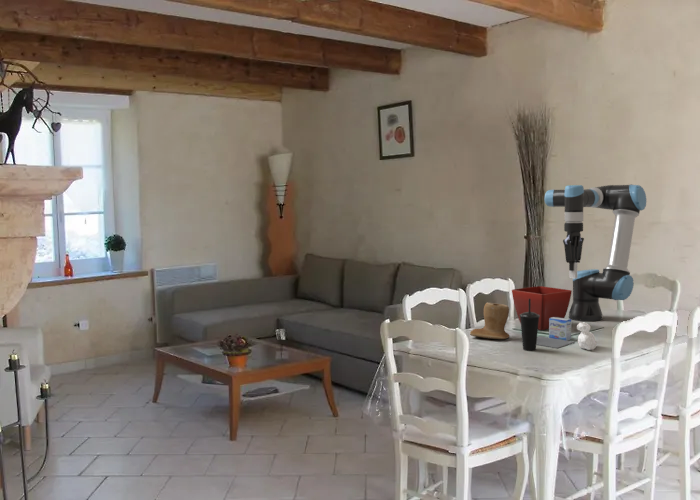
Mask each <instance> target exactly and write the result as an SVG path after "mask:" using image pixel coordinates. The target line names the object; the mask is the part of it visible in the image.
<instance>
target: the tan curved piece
mask: <svg viewBox="0 0 700 500" xmlns="http://www.w3.org/2000/svg"><path fill="white" fill-rule="evenodd" d="M509 314H510V308H509V305H506V304H502V303H494V302H486V303H485V304H484V306H483V318H484V319H483V320H484V326H483V327H481V328H473V329H472V330H471V331H470V332H469V334H470V336H472V337H476V338H480V339H488V340H489V339H490V340H505V339H508V338H510V334H509V333H508V332H506V331H505V328H506V324H507V321H508V318H509Z"/></svg>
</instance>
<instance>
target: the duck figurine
mask: <svg viewBox="0 0 700 500" xmlns="http://www.w3.org/2000/svg"><path fill="white" fill-rule="evenodd" d="M576 330H577V331H580V334H579V335H578V337H577V344H578V346H579V347H580V348H581V349H584V350H587V351H594V350H595V349H596V347H597V346H598V345H597V341H596V337H595V335H594V333H592V332H591V325H590V324H588V322H586V321H582V322H581V321H579V323H578V324H577V325H576Z"/></svg>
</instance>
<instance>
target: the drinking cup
mask: <svg viewBox="0 0 700 500" xmlns="http://www.w3.org/2000/svg"><path fill="white" fill-rule="evenodd" d="M530 306H531V299H529V312H524V313H522V314H520V315H519V316H520V320H521V323H520V330H521V337H522V338H521V340H522V341H521V343H522V350H523V351H528V352H533V351H536V350H537V345H536V343H537V337H538V332H539V331H538V330H539V329H538V322H539V317H540V315H539V314H536V313H534V312H530Z"/></svg>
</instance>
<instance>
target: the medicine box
mask: <svg viewBox="0 0 700 500" xmlns="http://www.w3.org/2000/svg"><path fill="white" fill-rule="evenodd" d="M548 338H554V339H560V340H566V341H571V340H572V319H570V318H566V317H565V318H558V317H552V318H549V329H548ZM570 339H571V340H570Z"/></svg>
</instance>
